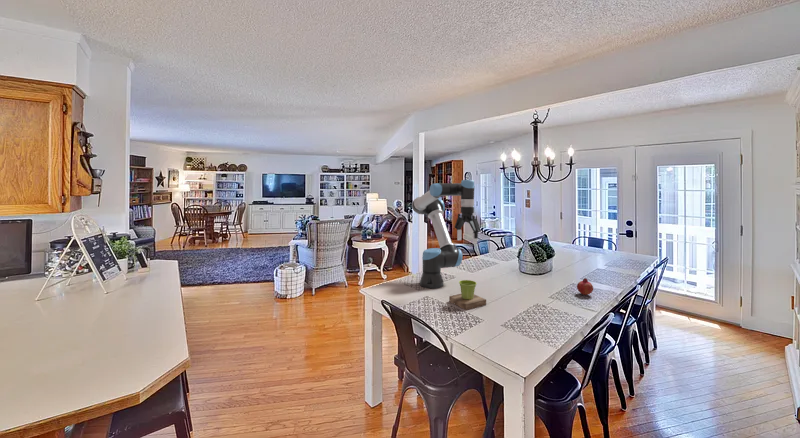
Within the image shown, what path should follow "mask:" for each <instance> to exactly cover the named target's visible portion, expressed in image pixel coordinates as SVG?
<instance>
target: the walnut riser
mask: <svg viewBox="0 0 800 438" xmlns="http://www.w3.org/2000/svg"><path fill="white" fill-rule="evenodd" d="M449 302H450V303H451V304H453V305H456V306H458V307H460V308H461V309H463V310H465V311H468V310H472V309H477V308H480V307H483V306H484V307H485V306H486V305H487V299H486V298H483V297H481V296H479V295H476V294H475V293H474V296H473V299H471V300H469V299H463V298H462V295H461V293H458V294H454V295H450V296H449Z"/></svg>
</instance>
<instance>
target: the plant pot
mask: <svg viewBox="0 0 800 438" xmlns="http://www.w3.org/2000/svg"><path fill="white" fill-rule="evenodd" d="M458 284H459V286H460V294H461V295H462V298H463V299H469V300H471V299H473V296H474V294H475V290H476V286H477V284H478V283H477V282H476V281H475V280H470V279H464V280H459V281H458Z"/></svg>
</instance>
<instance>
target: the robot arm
mask: <svg viewBox="0 0 800 438" xmlns="http://www.w3.org/2000/svg"><path fill="white" fill-rule="evenodd" d="M453 196H454V197H457V196H459V197H460V206H461V207H460V213H458V214H457V218H456V221H455V225H454V229H456V236H457V237H456V238H457V239H456V240H457V241H462V239H463V238H462V236H463V235H462V233H463V231H462V227H463V226H464V225H465V223H467V224H469V225H470V227H471V230H472V231H473V232H472V245H477V244H478V236H479V233H480V232H482V231H481V228H480V224H479V221H478V216H477V215H476V214H475V215H474V213H475V207H474V206H475V181H474V180H473V179H462V180H461V182H460V183H458V182H457V183H456V182H455V183H454V182H453V183H432V184H431V185H430V186H429V190H428V191H426V192H425V193H424V194H422V195H421V196H418V197H416V198H415V199H413V201H412V203H411V208H412V211H414V212H415V213H416V214H418V215H426V216H427V217H428V219H429V220H430V221H431V224H432V226H433V230H434V233H435V235H436V236H435V237H436V239H437V241H438V242H437V243H438V245H439V247H434V248H433V247H431V248H426V249H424V250H423V252H422V258H421V259H422V274H421V277H420V280H419V285H420V286H421V287H422V288H425V289H439V288H442V287H444V281H443V277H442V274H441V269H446V268H448V269H449V268H455V267H459V266H461V264H462V262H463V251H462V250H461V249H460V248H457V245H456V244H454V243H453V242H452V239H451V236H450V233H449V231H448V228H447V224H446V222H445V219H444V217H443V215H444V212H445V209H446V208H445V203H444V201H443V200H442V197H453Z"/></svg>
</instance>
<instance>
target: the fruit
mask: <svg viewBox="0 0 800 438" xmlns="http://www.w3.org/2000/svg"><path fill="white" fill-rule="evenodd" d="M576 289H577V290H578V292H579V293H580V295H584V296H587V295H588V296H589V295H590V294H592V293H593V291H594V285H593V284H592V283H591V282H590V281H588V278H587V277H584V278H583V280H581V281H579V282H578V283H577V285H576Z"/></svg>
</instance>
